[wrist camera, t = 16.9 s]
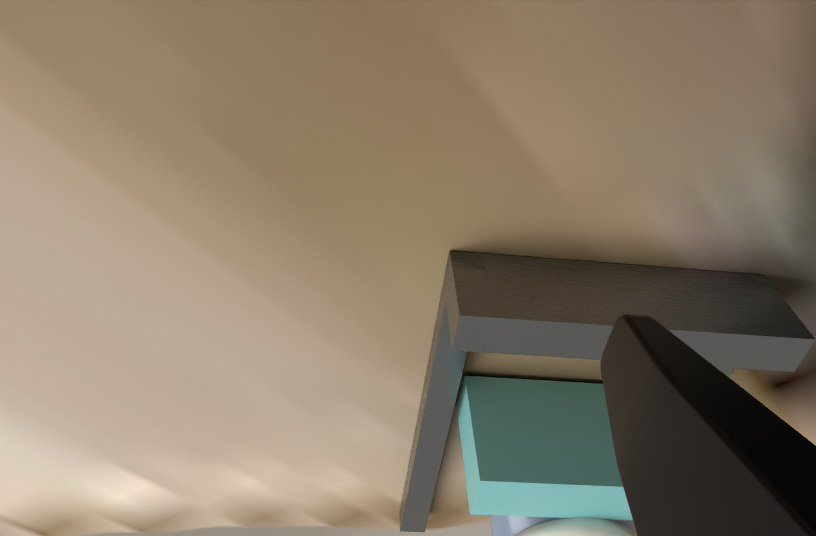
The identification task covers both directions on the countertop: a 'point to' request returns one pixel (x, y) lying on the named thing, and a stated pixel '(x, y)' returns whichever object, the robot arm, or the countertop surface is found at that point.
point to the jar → (558, 526)
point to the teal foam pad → (539, 449)
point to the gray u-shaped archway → (584, 330)
